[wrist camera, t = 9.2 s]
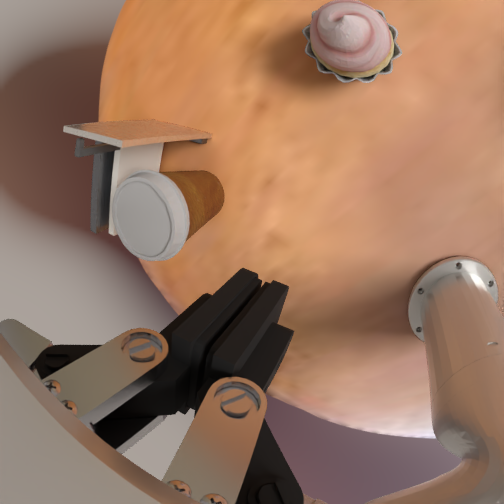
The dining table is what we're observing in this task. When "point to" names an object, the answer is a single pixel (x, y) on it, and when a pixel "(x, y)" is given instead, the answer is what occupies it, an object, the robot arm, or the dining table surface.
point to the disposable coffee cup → (164, 210)
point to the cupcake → (351, 41)
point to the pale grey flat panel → (124, 163)
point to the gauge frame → (123, 137)
